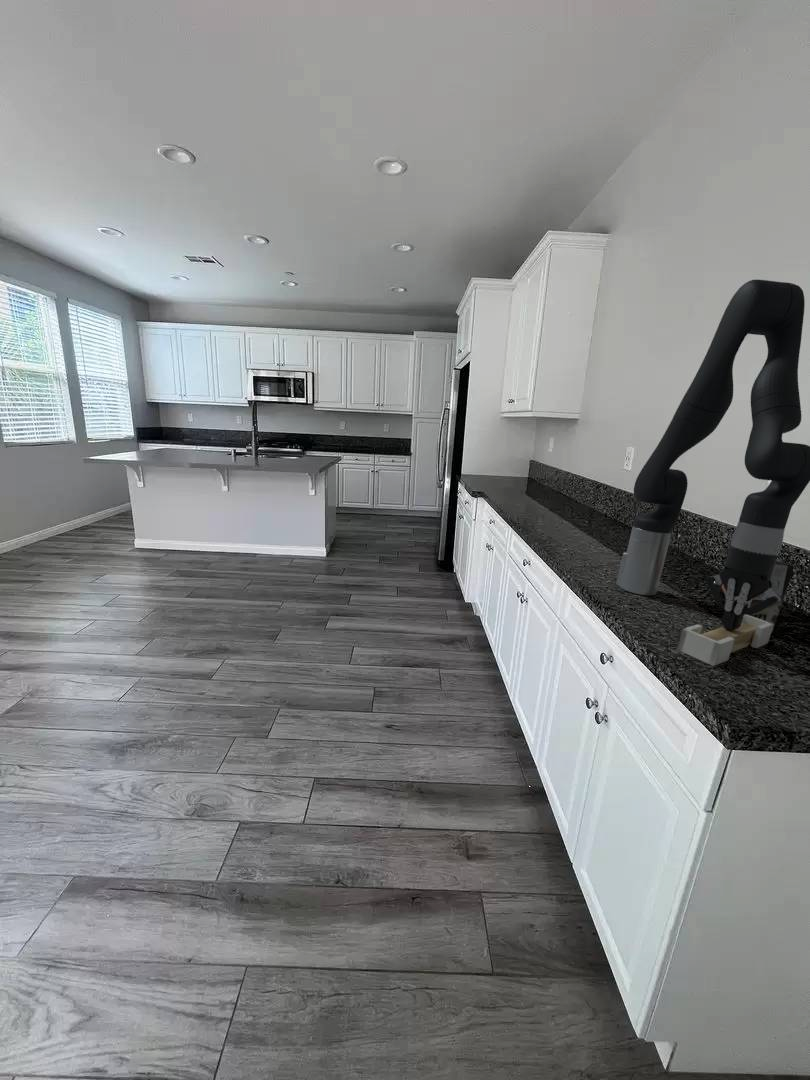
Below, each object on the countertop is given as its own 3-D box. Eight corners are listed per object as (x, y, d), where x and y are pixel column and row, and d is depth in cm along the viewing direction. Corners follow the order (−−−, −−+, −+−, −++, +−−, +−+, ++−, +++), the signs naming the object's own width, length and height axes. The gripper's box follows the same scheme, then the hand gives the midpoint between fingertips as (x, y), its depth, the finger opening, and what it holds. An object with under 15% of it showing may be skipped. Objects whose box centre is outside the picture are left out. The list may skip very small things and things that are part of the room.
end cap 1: (677, 649, 86) (682, 628, 85) (692, 644, 89) (697, 624, 88) (713, 666, 81) (720, 644, 80) (728, 660, 84) (734, 638, 83)
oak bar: (691, 654, 86) (697, 635, 85) (733, 638, 95) (738, 621, 94) (710, 662, 83) (716, 643, 82) (751, 645, 92) (757, 627, 91)
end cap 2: (767, 643, 93) (774, 624, 92) (755, 648, 90) (762, 628, 89) (732, 630, 99) (738, 611, 97) (720, 634, 96) (726, 615, 94)
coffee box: (774, 633, 99) (796, 566, 95) (742, 628, 100) (763, 561, 96) (751, 617, 108) (771, 555, 104) (722, 613, 109) (741, 551, 105)
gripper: (707, 539, 88) (685, 618, 92) (788, 559, 77) (759, 647, 81) (725, 537, 92) (703, 613, 96) (804, 555, 81) (776, 640, 85)
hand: (729, 629), depth 89 cm, fingers closed
